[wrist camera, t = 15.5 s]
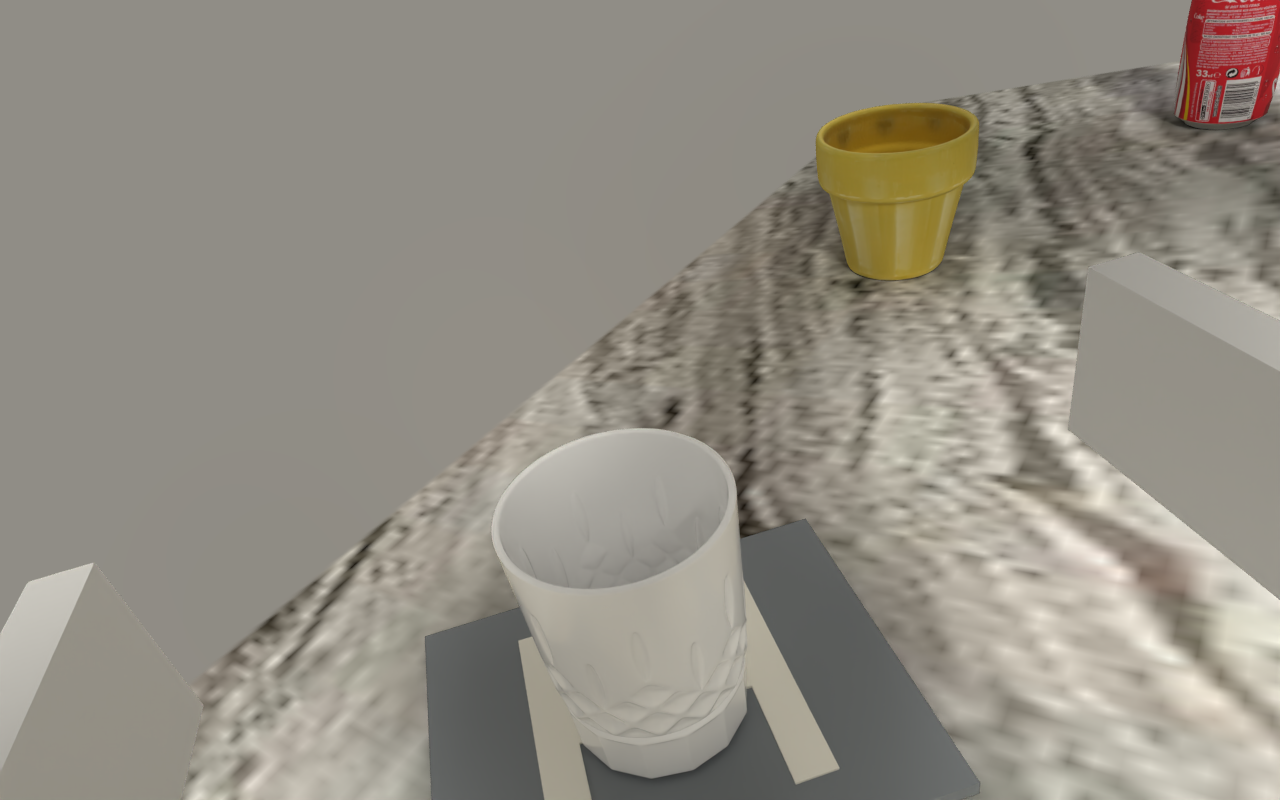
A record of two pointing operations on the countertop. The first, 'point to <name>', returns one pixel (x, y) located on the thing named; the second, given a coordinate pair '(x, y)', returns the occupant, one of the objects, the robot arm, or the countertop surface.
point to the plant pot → (896, 183)
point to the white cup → (633, 592)
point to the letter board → (766, 738)
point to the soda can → (1228, 63)
